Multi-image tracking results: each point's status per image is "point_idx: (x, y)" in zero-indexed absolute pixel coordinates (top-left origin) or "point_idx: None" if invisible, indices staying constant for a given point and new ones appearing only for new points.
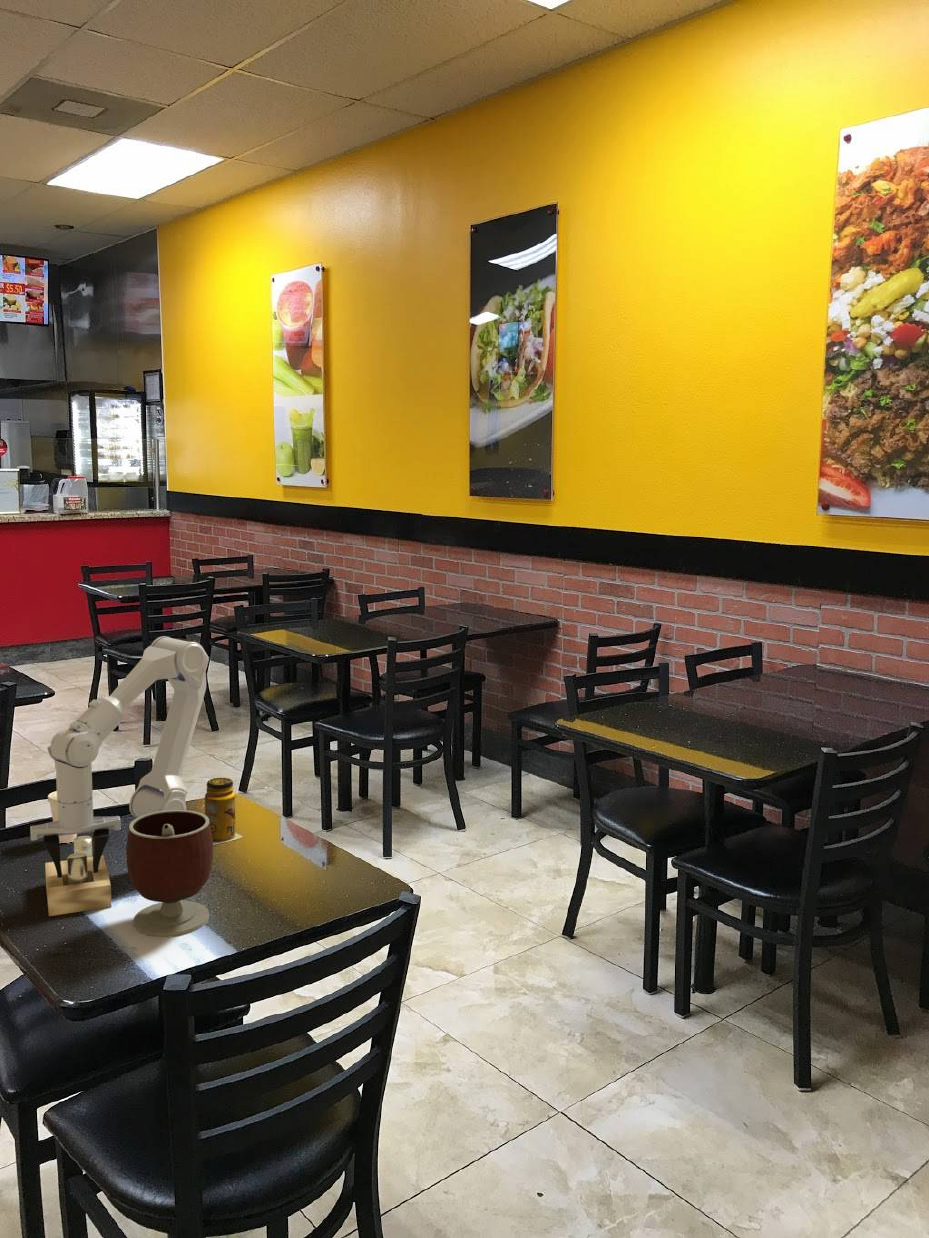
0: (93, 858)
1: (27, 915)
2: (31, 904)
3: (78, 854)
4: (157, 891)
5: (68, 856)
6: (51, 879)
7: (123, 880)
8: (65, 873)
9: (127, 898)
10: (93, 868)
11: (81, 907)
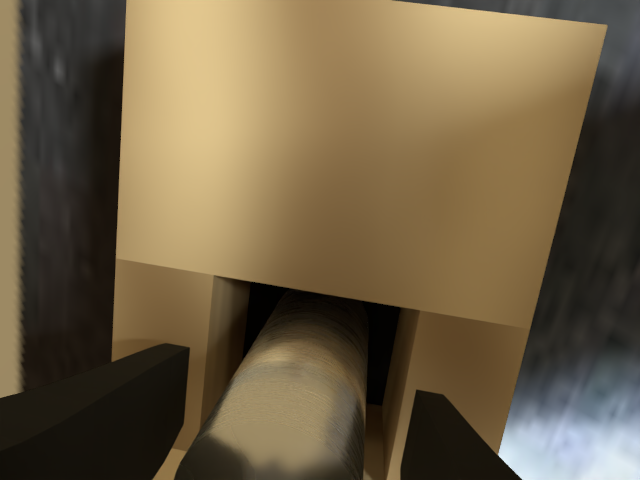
0: (426, 476)
1: (85, 370)
2: (107, 261)
3: (287, 467)
4: None
5: (187, 466)
6: (142, 319)
7: (617, 192)
8: (240, 266)
9: (544, 434)
10: (407, 456)
11: None
